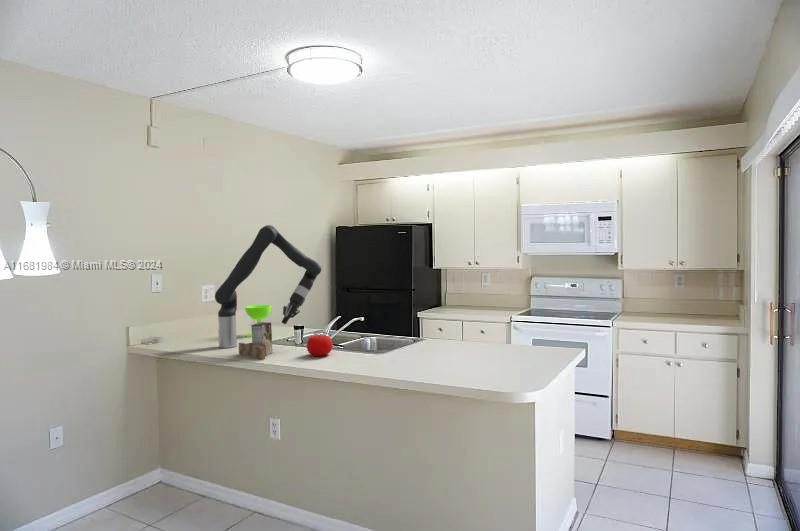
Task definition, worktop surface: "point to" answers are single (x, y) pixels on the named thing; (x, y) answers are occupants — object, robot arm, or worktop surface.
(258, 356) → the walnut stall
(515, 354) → the worktop surface
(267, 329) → the coffee box
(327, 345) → the tomato
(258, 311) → the wineglass
